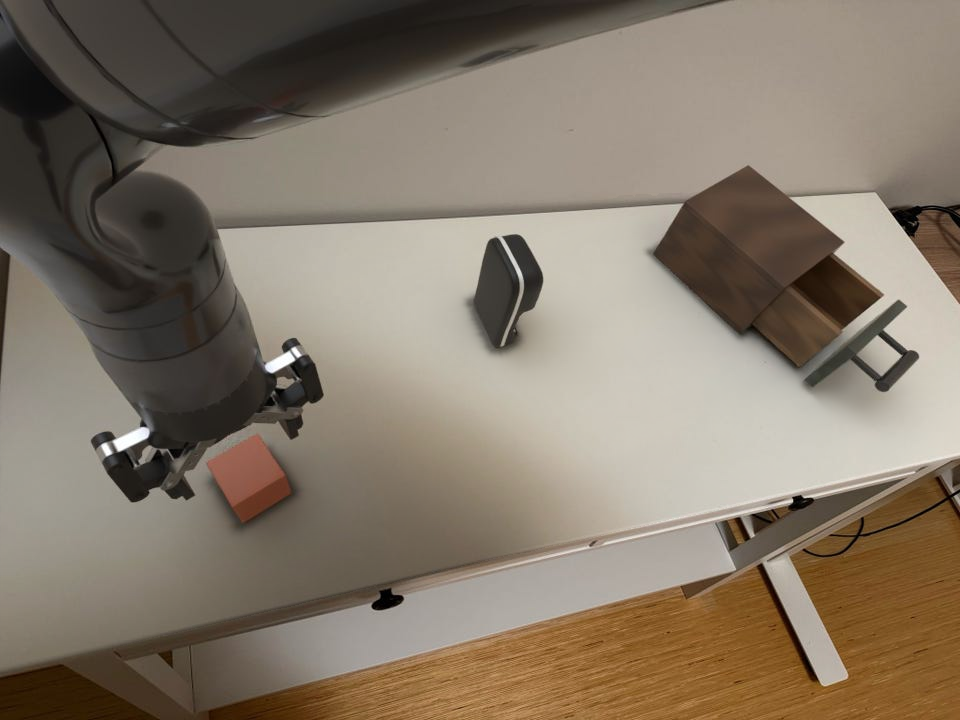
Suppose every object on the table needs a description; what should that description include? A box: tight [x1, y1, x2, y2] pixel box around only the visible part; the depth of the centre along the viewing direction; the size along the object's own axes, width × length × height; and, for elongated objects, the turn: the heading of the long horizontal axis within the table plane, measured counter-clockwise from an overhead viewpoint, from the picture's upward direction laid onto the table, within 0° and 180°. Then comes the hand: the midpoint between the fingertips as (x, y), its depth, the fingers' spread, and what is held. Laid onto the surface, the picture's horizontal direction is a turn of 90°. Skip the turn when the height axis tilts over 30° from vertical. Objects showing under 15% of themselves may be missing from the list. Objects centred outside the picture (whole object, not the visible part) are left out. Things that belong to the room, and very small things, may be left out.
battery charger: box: [473, 233, 544, 348], centre depth 60 cm, size 7×4×11 cm, turn 22°
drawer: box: [752, 253, 920, 393], centre depth 67 cm, size 18×11×7 cm, turn 39°
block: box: [205, 433, 292, 524], centre depth 50 cm, size 5×5×5 cm
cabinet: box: [652, 164, 845, 335], centre depth 71 cm, size 15×13×9 cm
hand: (239, 457), depth 46 cm, fingers open, 8 cm apart
